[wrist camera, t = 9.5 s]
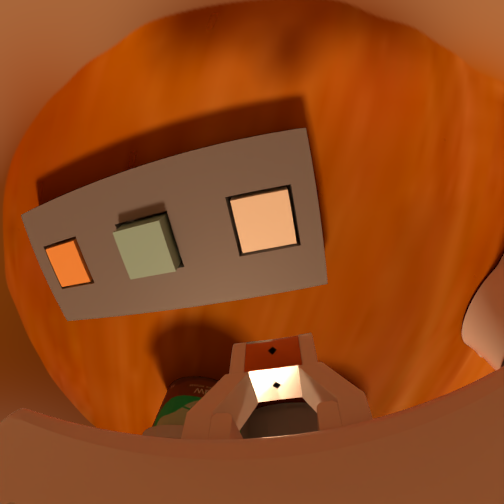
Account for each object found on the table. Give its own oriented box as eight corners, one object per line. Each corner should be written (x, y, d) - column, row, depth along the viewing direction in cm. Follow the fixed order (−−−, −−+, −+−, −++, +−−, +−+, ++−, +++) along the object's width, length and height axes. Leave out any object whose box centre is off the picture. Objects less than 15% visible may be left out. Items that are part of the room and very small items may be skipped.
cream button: (284, 184, 21) (287, 189, 19) (293, 233, 22) (296, 243, 20) (232, 194, 21) (230, 200, 19) (243, 243, 23) (242, 253, 21)
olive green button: (166, 212, 20) (159, 220, 19) (181, 260, 22) (175, 271, 20) (122, 224, 21) (112, 232, 19) (138, 268, 22) (130, 279, 21)
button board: (299, 128, 20) (305, 127, 17) (320, 266, 25) (327, 283, 22) (38, 205, 22) (20, 215, 20) (79, 305, 27) (67, 320, 24)
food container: (259, 379, 31) (260, 452, 22) (248, 407, 33) (247, 472, 24) (156, 359, 30) (132, 428, 21) (157, 389, 32) (138, 452, 23)
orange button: (84, 233, 22) (73, 240, 21) (99, 271, 24) (90, 281, 22) (56, 241, 23) (45, 249, 21) (71, 277, 24) (61, 286, 22)
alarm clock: (193, 423, 36) (181, 492, 25) (314, 378, 31) (330, 465, 20) (264, 463, 42) (264, 516, 31) (364, 429, 37) (379, 488, 26)
